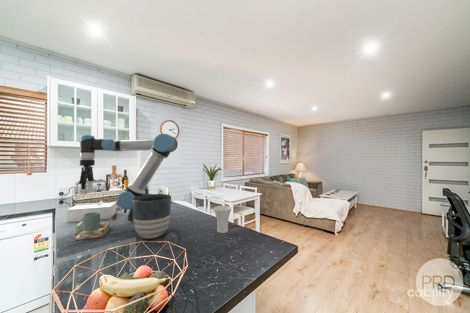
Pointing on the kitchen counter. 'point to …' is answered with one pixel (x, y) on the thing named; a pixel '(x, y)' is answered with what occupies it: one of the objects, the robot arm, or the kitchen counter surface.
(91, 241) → the kitchen counter surface
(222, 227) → the cup
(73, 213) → the tissue box
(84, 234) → the tray
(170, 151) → the robot arm
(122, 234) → the kitchen counter surface
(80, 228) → the gate
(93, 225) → the cup
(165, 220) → the planter
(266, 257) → the kitchen counter surface
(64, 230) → the kitchen counter surface
